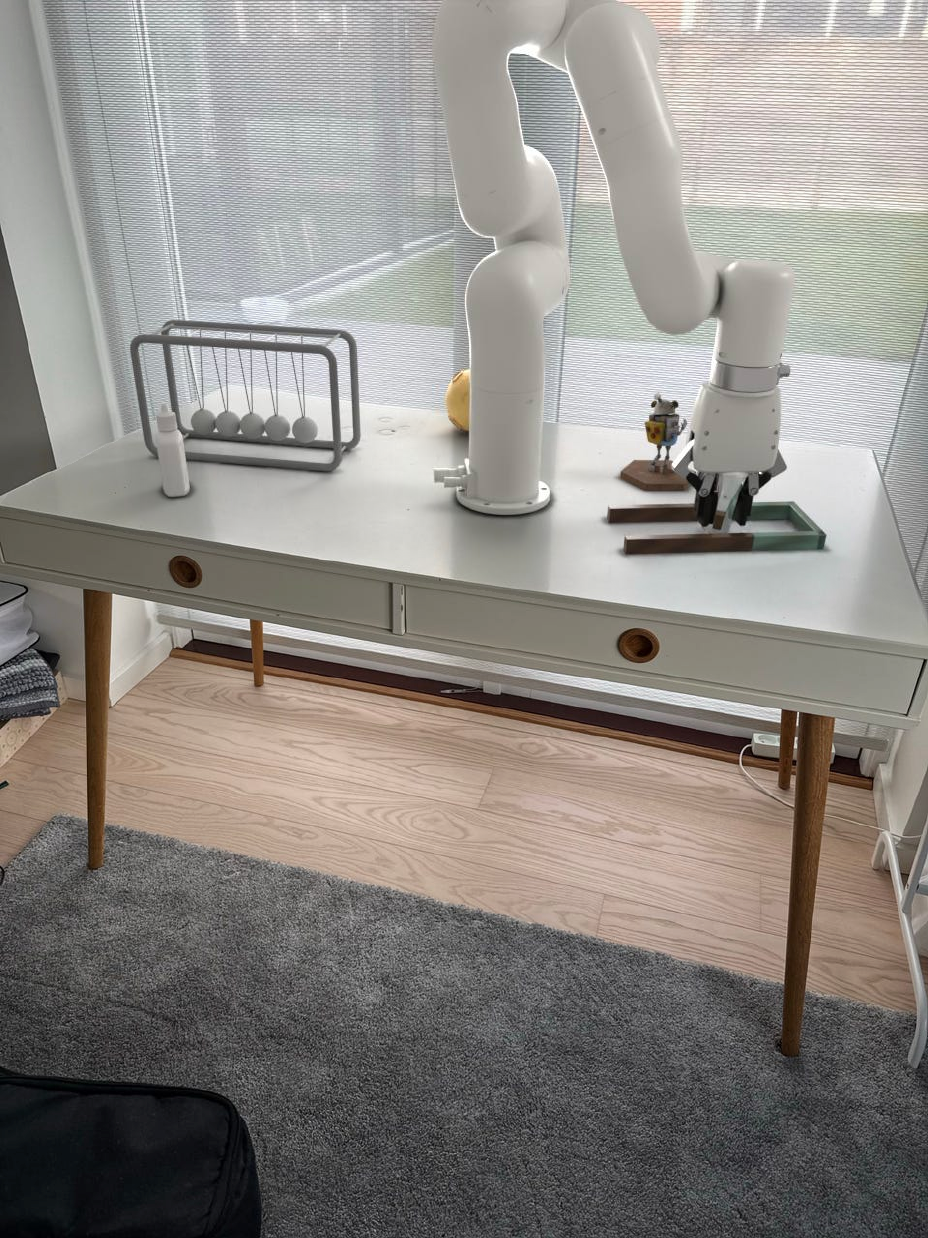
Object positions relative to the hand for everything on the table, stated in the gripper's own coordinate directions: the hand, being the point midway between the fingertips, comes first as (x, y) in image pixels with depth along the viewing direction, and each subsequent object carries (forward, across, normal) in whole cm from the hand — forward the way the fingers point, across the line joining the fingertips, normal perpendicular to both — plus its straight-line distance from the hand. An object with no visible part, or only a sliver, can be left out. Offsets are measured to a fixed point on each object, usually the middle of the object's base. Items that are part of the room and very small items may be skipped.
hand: (720, 520), depth 118 cm
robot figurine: (+2, +3, -19) cm, 19 cm away
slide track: (+2, +1, 0) cm, 2 cm away
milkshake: (+2, 0, 0) cm, 2 cm away
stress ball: (+2, +27, -41) cm, 49 cm away
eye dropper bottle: (+2, +70, -18) cm, 72 cm away
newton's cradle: (+2, +61, -32) cm, 69 cm away
